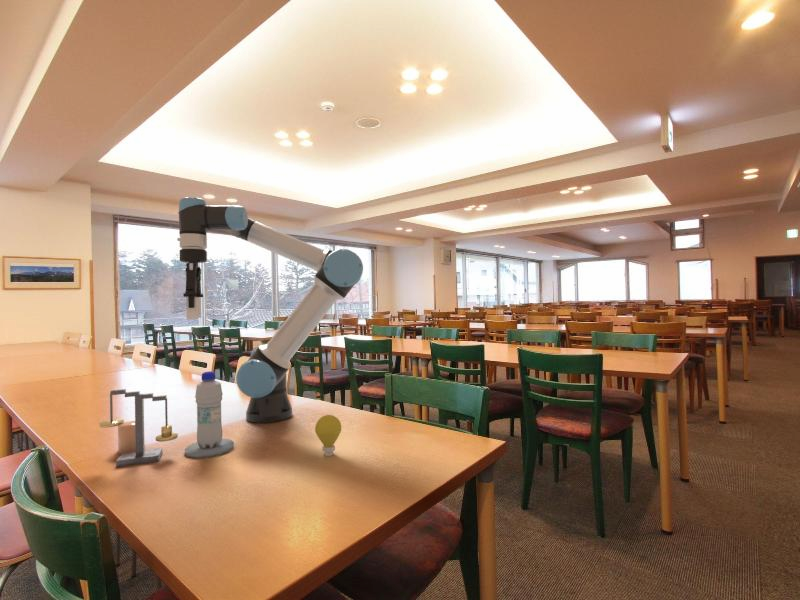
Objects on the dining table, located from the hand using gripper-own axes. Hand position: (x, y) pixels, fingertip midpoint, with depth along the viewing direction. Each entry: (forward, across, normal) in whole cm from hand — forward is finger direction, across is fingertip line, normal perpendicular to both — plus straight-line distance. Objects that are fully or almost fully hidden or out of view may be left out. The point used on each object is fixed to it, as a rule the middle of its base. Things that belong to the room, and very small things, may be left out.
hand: (194, 318), depth 129 cm
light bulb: (+35, +35, +34) cm, 60 cm away
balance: (+35, +20, -11) cm, 42 cm away
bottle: (+34, +19, +5) cm, 39 cm away
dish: (+35, +19, +5) cm, 40 cm away
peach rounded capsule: (+35, +10, -15) cm, 39 cm away
